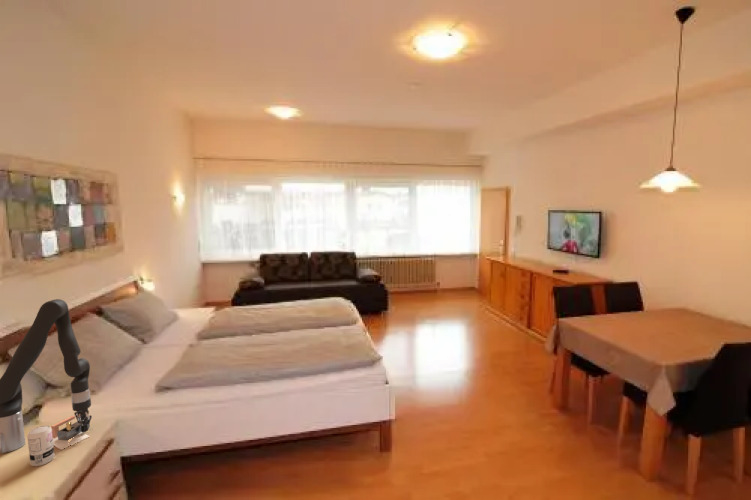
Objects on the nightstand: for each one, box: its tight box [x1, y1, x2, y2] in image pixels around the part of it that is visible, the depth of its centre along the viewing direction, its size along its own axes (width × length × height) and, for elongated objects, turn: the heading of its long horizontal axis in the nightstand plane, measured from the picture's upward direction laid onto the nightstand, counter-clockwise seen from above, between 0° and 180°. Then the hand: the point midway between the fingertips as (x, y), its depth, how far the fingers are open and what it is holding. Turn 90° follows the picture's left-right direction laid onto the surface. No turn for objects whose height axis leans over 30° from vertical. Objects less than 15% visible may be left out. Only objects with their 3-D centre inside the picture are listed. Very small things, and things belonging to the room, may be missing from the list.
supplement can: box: [27, 425, 55, 467], centre depth 172 cm, size 8×8×15 cm
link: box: [57, 420, 91, 441], centre depth 194 cm, size 12×6×4 cm, turn 168°
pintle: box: [65, 421, 72, 431], centre depth 191 cm, size 2×2×8 cm
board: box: [53, 432, 91, 451], centre depth 190 cm, size 12×18×1 cm
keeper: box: [50, 415, 76, 438], centre depth 195 cm, size 10×2×6 cm, turn 164°
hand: (84, 431), depth 195 cm, fingers closed
